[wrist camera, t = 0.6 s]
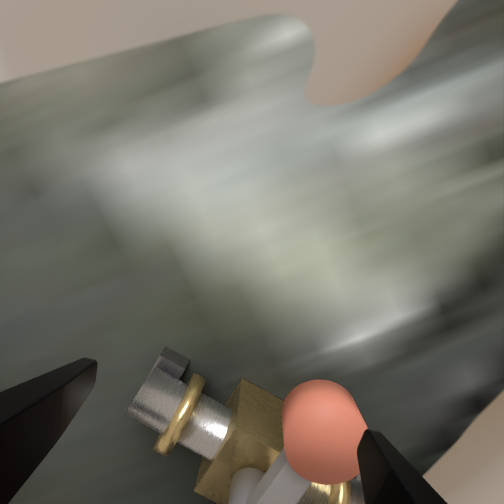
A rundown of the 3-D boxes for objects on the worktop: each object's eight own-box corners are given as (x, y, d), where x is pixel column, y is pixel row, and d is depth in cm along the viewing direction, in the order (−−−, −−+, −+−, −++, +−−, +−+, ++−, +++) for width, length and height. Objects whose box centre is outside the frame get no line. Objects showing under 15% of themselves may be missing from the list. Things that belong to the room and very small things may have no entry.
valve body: (367, 448, 24) (402, 527, 18) (330, 495, 24) (352, 585, 19) (171, 337, 23) (139, 381, 17) (141, 390, 24) (100, 449, 18)
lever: (267, 514, 18) (269, 589, 15) (213, 484, 18) (200, 553, 14) (361, 386, 16) (390, 435, 13) (303, 352, 16) (314, 392, 13)
